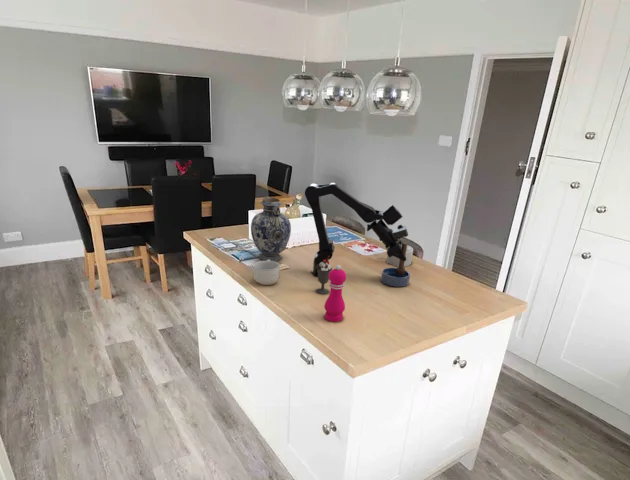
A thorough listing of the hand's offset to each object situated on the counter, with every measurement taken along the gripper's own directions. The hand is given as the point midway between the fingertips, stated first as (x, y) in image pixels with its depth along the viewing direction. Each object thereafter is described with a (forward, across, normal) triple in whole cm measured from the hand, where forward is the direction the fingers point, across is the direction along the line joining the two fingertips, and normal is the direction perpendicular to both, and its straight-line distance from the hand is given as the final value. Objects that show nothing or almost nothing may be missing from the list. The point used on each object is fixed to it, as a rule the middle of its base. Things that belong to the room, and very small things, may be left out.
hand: (405, 259), depth 180 cm
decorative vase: (-37, +13, +52) cm, 65 cm away
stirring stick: (+4, 0, +6) cm, 7 cm away
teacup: (-32, -16, +48) cm, 60 cm away
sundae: (-16, -20, +31) cm, 40 cm away
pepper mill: (-11, -42, +26) cm, 51 cm away
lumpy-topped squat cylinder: (+8, +27, +8) cm, 29 cm away
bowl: (+5, -1, +10) cm, 11 cm away
